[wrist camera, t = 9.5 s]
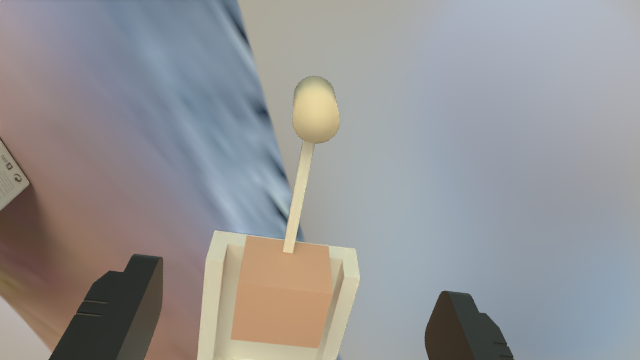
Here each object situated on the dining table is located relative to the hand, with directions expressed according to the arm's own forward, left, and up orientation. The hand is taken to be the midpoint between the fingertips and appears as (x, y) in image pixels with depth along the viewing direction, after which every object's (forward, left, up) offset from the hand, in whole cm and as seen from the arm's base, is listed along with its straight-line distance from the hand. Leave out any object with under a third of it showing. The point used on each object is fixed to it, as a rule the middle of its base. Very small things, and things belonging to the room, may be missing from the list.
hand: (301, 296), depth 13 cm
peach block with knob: (+7, +1, -18) cm, 19 cm away
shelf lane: (+18, +1, -19) cm, 26 cm away
